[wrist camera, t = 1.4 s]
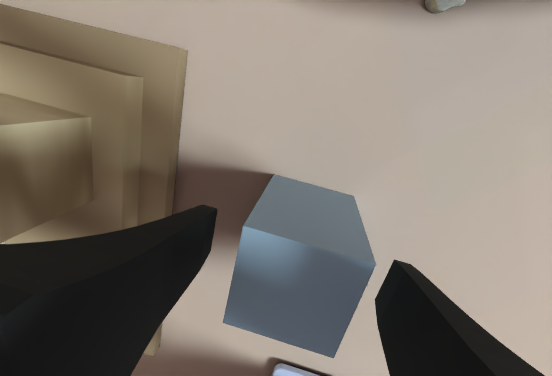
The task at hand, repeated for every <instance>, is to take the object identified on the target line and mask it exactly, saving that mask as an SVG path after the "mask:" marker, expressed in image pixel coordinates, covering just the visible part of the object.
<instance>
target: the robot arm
mask: <svg viewBox="0 0 552 376" xmlns="http://www.w3.org/2000/svg"><path fill="white" fill-rule="evenodd" d="M216 215H217V209H216V208H213V207H209V206H206V205H201V206H197V207H194V208H191V209H188V210H185V211H183V212H180V213H177V214H174V215H171V216H168V217H165V218H162V219H159V220H156V221H152V222H149V223H145V224H142V225H139V226H135V227H131V228H127V229H123V230H118V231H113V232H109V233H104V234H98V235H91V236H84V237H77V238H71V239H63V240H54V241H44V242H31V243H16V244H0V376H130V375H131V373H132V372H133V370H134V368H135V367H136V365H137V363H138V361H139V360H140V358H141V356H142V354H143V353H144V351H145V349H146V348H147V346H148V344H149V343H150V341H151V339H152V338H153V336H154V334H155V333H156V331H157V329H158V328H159V326H160V325H161V323H162V322H163V320H164V319H165V317H166V316H167V315H168V313H169V312H170V310H171V309H172V308H173V306H174V305H175V304H176V302H177V301H178V300H179V298H180V297H181V296H182V294H183V293H184V292H185V290H186V289H187V287H188V286H189V285H190V283H191V282H192V281H193V279H194V278H195V276H196V275H197V274H198V272H199V271H200V269H201V267H202V266H203V264H204V262H205V260H206V258H207V257H208V255H209V253H210V251H211V246H212V240H213V234H214V228H215V221H216ZM375 305H376V316H377V324H378V329H379V333H380V337H381V342H382V346H383V350H384V354H385V358H386V362H387V366H388V370H389V374H390V376H544V375H543V374H542V373H540V372H539V371H538V370H536V369H535V368H533V367H532V366H531V365H529V364H528V363H527V362H525V361H524V360H523V359H521V358H520V357H519V356H517V355H516V354H515V353H513V352H512V351H511V350H510V349H508V348H507V347H506V346H504V345H503V344H502V343H500V342H499V341H498V340H497V339H495V338H494V337H493V336H492V335H491V334H489V333H488V332H487V331H486V330H485V329H483V328H482V327H481V326H480V325H479V324H478V323H476V322H475V321H474V320H473V319H472V318H470V317H469V316H468V315H467V314H466V313H465V312H464V311H463V310H461V309H460V308H459V307H458V306H457V305H456V304H455V303H454V302H453V301H451V300H450V299H449V298H448V297H447V296H446V295H445V294H444V293H443V292H442V291H441V290H439V289H438V288H437V287H436V286H435V285H434V284H433V283H432V282H431V281H430V280H429V279H428V278H426V277H425V276H424V275H423V274H422V273H421V272H420V271H418V270H417V269H416V268H415V267H413V266H412V265H411V264H408V263H405V262H401V261H398V260H394V261H393V263H392V265H391V268H390V270H389V272H388V274H387V276H386V278H385V280H384V282H383V284H382V286H381V288H380V290H379V292H378V294H377V296H376V298H375ZM272 376H320V375H317V374H314V373H310V372H307V371H304V370H301V369H298V368H295V367H292V366H289V365H286V364H282V363H280V364H277V365H276V366H275V368H274V371H273V374H272Z"/></svg>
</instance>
